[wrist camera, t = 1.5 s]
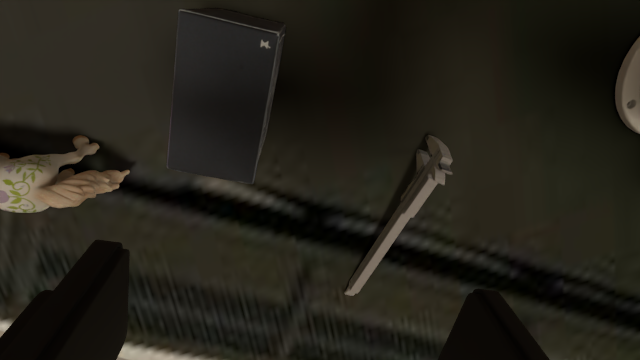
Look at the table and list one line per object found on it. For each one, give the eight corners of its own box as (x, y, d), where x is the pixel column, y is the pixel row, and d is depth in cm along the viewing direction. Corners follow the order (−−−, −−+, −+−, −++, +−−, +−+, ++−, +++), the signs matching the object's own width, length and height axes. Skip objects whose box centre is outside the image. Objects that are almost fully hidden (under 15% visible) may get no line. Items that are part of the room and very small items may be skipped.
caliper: (425, 132, 37) (449, 154, 32) (435, 135, 37) (461, 158, 32) (343, 291, 45) (351, 333, 39) (352, 293, 45) (360, 335, 39)
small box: (209, 4, 32) (172, 2, 22) (287, 23, 32) (285, 29, 23) (196, 126, 36) (161, 170, 26) (266, 140, 37) (257, 187, 27)
